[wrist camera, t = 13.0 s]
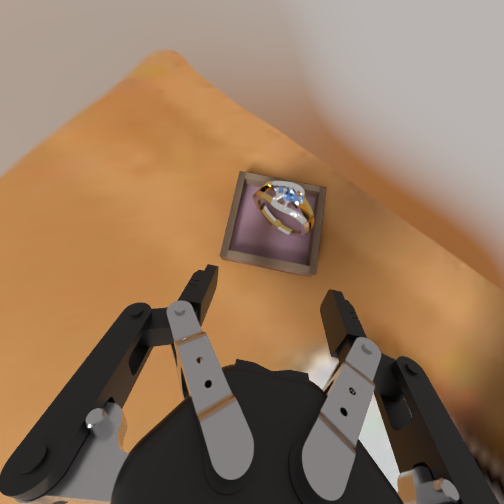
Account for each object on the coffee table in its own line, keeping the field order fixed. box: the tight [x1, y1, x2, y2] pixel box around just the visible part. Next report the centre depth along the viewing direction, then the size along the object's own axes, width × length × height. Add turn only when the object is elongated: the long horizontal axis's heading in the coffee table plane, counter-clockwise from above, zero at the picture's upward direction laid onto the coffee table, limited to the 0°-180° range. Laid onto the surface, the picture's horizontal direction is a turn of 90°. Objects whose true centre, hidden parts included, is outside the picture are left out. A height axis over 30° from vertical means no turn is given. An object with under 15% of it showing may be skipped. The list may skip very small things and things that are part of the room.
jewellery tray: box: [220, 171, 326, 276], centre depth 24 cm, size 11×11×2 cm
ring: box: [253, 181, 314, 239], centre depth 20 cm, size 7×3×8 cm, turn 46°
